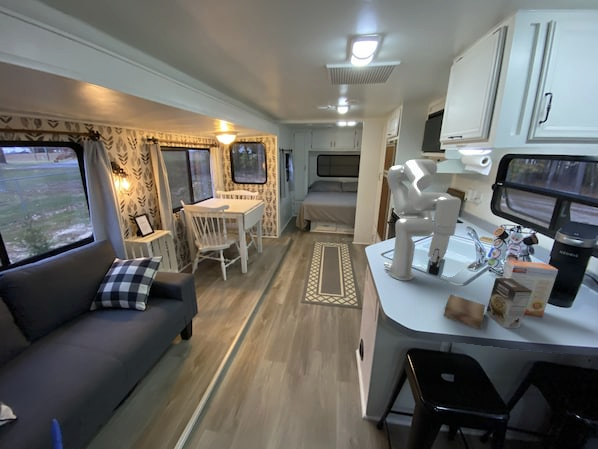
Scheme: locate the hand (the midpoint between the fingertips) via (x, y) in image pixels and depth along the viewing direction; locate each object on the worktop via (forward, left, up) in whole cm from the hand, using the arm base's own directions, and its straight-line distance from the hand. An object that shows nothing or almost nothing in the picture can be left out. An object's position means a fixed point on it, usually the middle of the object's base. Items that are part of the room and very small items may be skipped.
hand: (434, 271), depth 95 cm
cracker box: (+29, +23, -17) cm, 41 cm away
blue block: (0, 0, -1) cm, 1 cm away
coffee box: (+24, +10, -17) cm, 31 cm away
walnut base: (+12, +4, -17) cm, 21 cm away
